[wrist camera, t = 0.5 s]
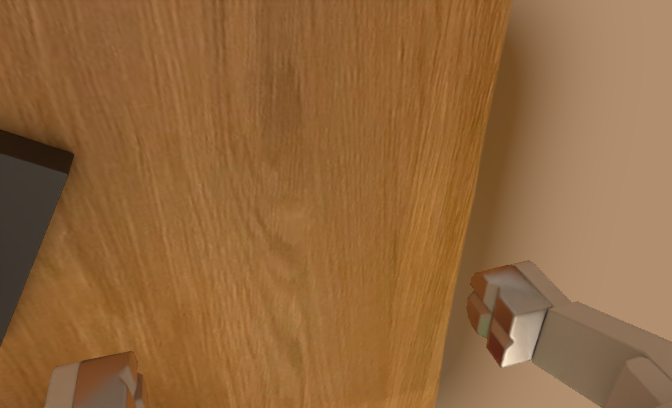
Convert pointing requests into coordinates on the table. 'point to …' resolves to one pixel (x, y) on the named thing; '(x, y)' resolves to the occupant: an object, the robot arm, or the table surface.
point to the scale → (25, 210)
